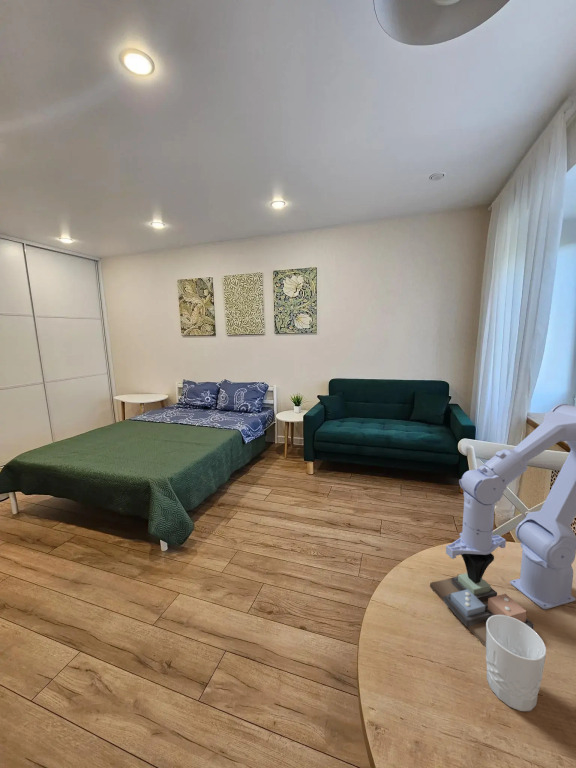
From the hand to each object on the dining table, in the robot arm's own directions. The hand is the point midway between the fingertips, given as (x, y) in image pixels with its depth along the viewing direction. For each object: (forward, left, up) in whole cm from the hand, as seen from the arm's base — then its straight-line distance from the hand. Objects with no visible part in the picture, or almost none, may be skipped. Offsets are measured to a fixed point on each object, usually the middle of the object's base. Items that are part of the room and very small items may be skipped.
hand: (473, 579), depth 70 cm
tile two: (0, +8, -2) cm, 8 cm away
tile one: (0, 0, -3) cm, 3 cm away
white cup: (+10, +18, -4) cm, 21 cm away
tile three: (+6, +4, -3) cm, 7 cm away
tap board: (+2, +4, -4) cm, 6 cm away
